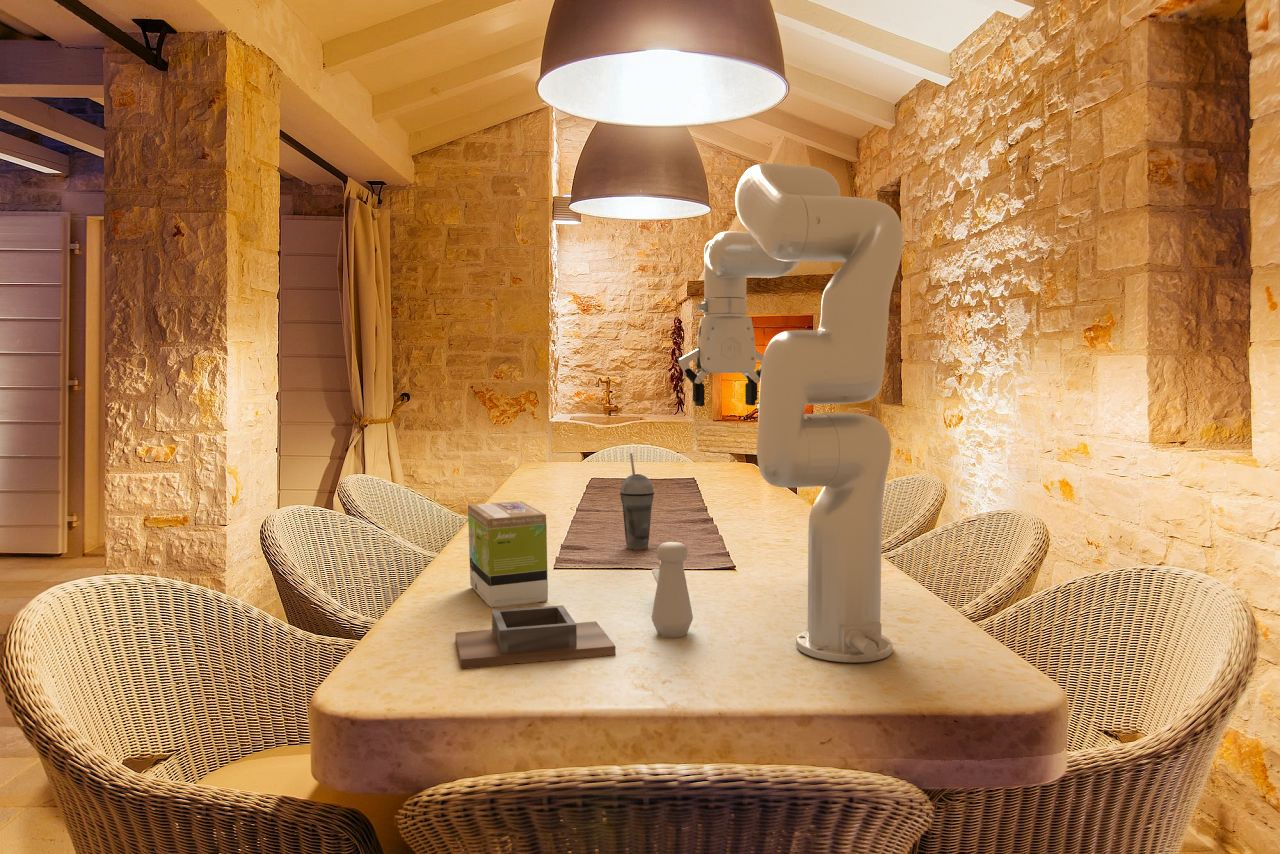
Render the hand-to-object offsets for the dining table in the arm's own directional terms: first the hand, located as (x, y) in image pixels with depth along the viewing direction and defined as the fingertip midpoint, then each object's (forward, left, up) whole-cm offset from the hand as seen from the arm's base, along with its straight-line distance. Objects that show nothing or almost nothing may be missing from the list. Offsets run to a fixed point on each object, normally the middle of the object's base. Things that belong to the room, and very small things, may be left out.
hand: (725, 405), depth 161 cm
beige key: (-16, +16, -32) cm, 39 cm away
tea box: (-3, +40, -31) cm, 51 cm away
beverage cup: (+29, +9, -31) cm, 44 cm away
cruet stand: (-33, +40, -31) cm, 60 cm away
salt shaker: (-32, +20, -31) cm, 49 cm away
